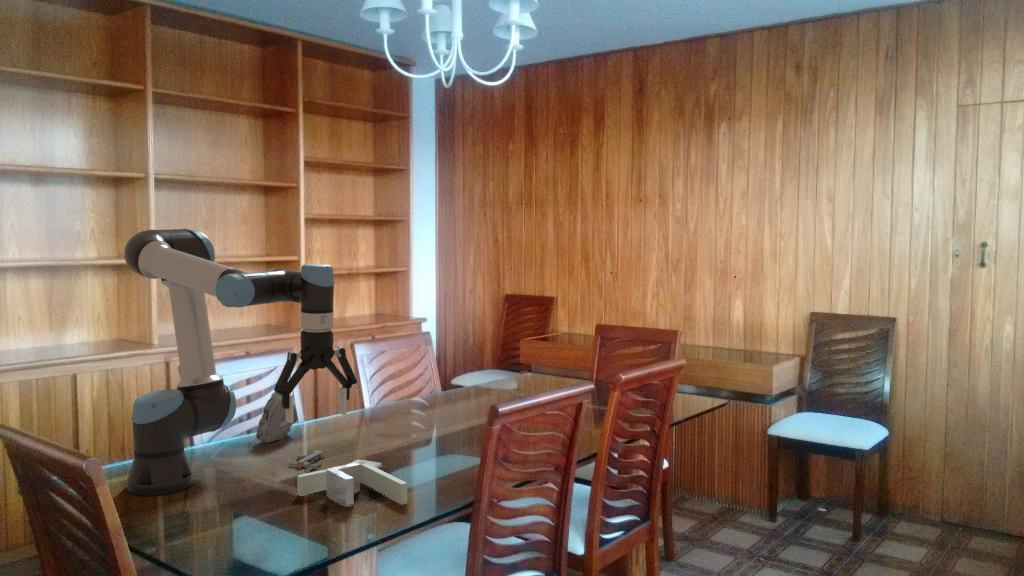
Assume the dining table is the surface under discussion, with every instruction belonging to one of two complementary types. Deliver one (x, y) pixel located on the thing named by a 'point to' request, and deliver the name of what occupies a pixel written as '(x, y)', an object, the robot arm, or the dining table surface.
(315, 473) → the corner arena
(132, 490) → the robot arm
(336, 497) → the bracket
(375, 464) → the hard drive
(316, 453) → the clamp
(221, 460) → the dining table surface
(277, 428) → the decorative rock
